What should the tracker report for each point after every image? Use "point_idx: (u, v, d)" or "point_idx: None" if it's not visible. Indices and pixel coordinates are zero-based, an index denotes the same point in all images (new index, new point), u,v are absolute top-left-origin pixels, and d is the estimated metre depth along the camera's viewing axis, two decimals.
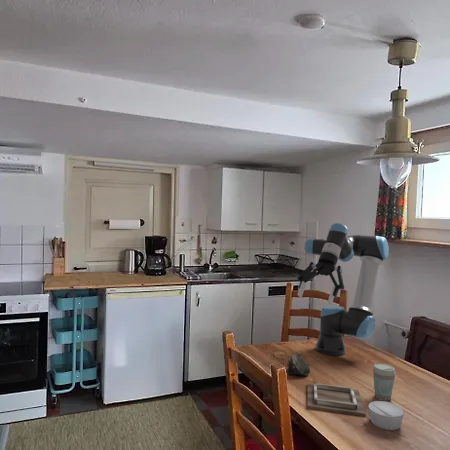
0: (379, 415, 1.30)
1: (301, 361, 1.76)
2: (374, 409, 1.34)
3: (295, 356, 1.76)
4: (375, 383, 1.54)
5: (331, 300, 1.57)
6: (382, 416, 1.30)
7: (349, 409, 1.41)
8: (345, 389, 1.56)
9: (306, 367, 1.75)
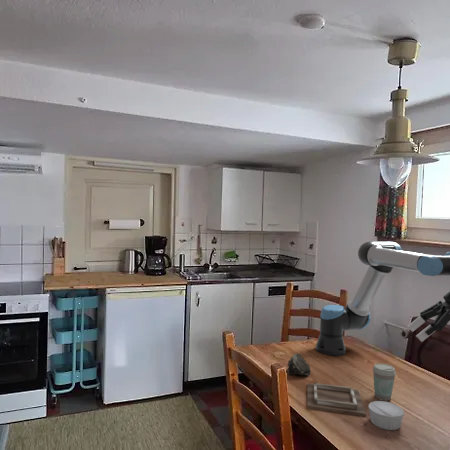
0: (379, 415, 1.30)
1: (302, 361, 1.76)
2: (374, 409, 1.34)
3: (295, 356, 1.76)
4: (375, 383, 1.54)
5: None
6: (382, 416, 1.30)
7: (349, 409, 1.41)
8: (345, 389, 1.56)
9: (307, 367, 1.75)
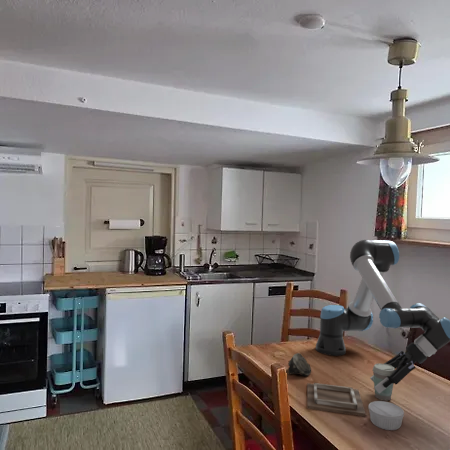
0: (379, 415, 1.30)
1: (302, 361, 1.76)
2: (374, 409, 1.34)
3: (296, 356, 1.76)
4: (375, 383, 1.54)
5: None
6: (382, 416, 1.30)
7: (349, 409, 1.41)
8: (345, 389, 1.56)
9: (307, 367, 1.75)
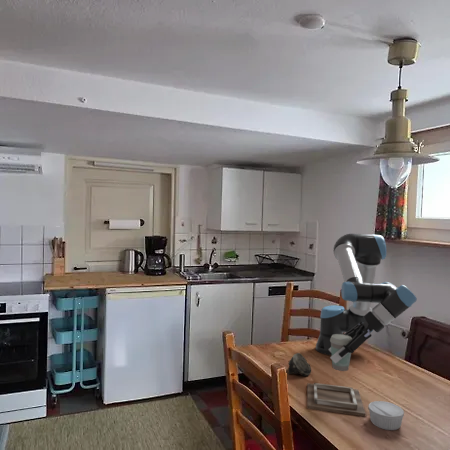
0: (379, 415, 1.30)
1: (302, 361, 1.76)
2: (374, 409, 1.34)
3: (296, 356, 1.76)
4: (332, 353, 1.49)
5: None
6: (382, 416, 1.30)
7: (349, 409, 1.41)
8: (345, 389, 1.56)
9: (307, 367, 1.75)
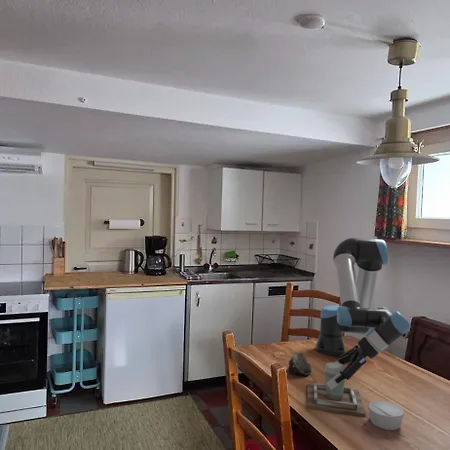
0: (379, 415, 1.30)
1: (302, 361, 1.76)
2: (374, 409, 1.34)
3: (296, 355, 1.77)
4: (326, 382, 1.50)
5: None
6: (382, 416, 1.30)
7: (349, 409, 1.41)
8: (345, 389, 1.56)
9: (307, 367, 1.75)
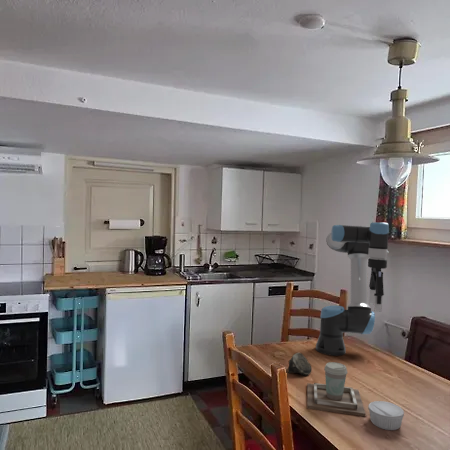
0: (379, 415, 1.30)
1: (302, 360, 1.77)
2: (374, 409, 1.34)
3: (296, 355, 1.77)
4: (326, 382, 1.50)
5: None
6: (382, 416, 1.30)
7: (349, 409, 1.41)
8: (345, 389, 1.56)
9: (307, 367, 1.76)
